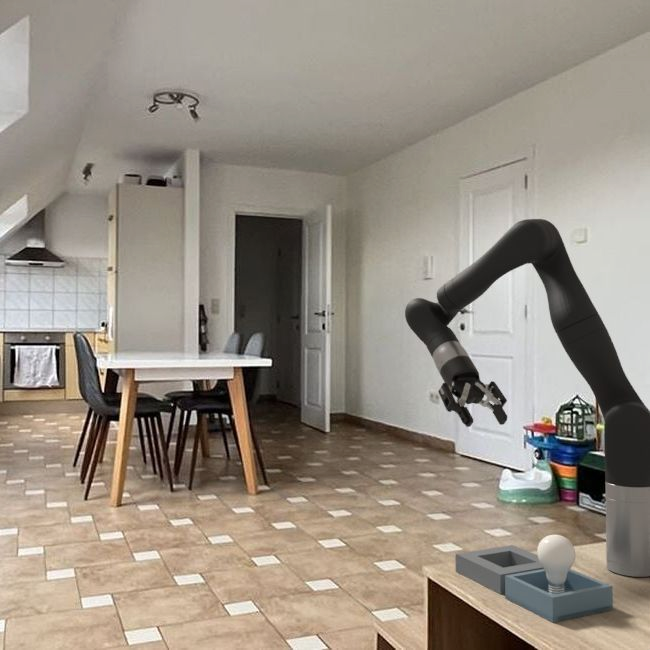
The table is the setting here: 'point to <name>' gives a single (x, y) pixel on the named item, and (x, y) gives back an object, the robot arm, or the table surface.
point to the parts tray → (559, 595)
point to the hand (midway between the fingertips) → (487, 423)
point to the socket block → (496, 565)
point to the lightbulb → (556, 560)
